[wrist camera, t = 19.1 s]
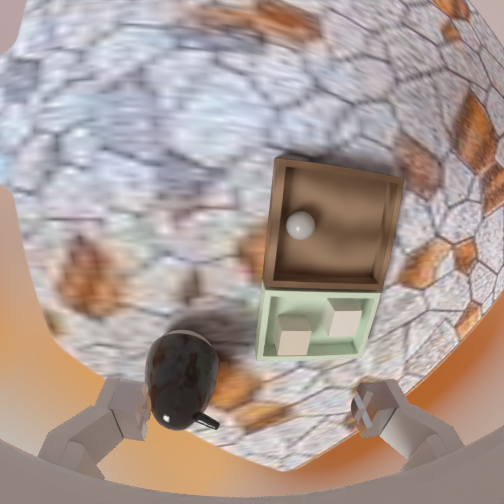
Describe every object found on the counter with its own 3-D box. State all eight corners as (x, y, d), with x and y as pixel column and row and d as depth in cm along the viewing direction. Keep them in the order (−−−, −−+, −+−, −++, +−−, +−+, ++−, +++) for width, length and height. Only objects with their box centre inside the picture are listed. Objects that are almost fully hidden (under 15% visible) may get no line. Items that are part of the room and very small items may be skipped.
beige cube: (277, 315, 40) (281, 330, 36) (305, 315, 40) (312, 331, 36) (273, 338, 41) (277, 355, 37) (300, 338, 41) (306, 355, 38)
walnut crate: (274, 158, 34) (279, 158, 31) (390, 175, 35) (403, 178, 32) (262, 275, 39) (265, 286, 35) (371, 279, 40) (381, 289, 37)
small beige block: (325, 296, 39) (334, 311, 36) (351, 297, 40) (362, 310, 36) (320, 321, 41) (328, 337, 37) (345, 321, 41) (355, 336, 37)
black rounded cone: (213, 378, 44) (210, 455, 29) (150, 363, 42) (127, 436, 28) (229, 328, 41) (230, 408, 27) (158, 310, 39) (129, 385, 25)
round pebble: (285, 207, 35) (291, 213, 32) (312, 210, 35) (320, 215, 32) (282, 234, 36) (287, 242, 33) (308, 236, 36) (316, 244, 33)
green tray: (262, 278, 39) (265, 290, 35) (370, 282, 40) (381, 293, 37) (254, 345, 42) (256, 360, 39) (353, 344, 44) (361, 357, 40)
